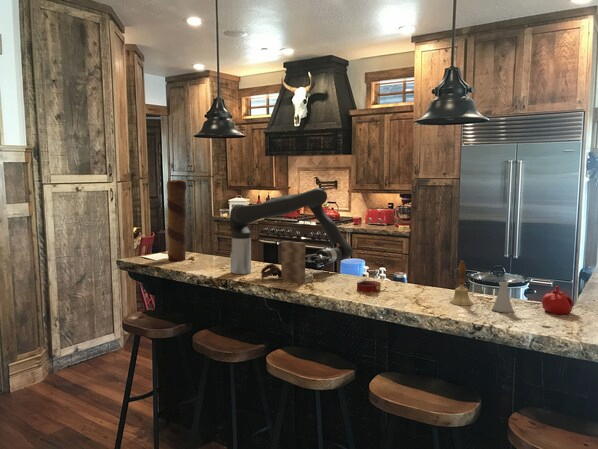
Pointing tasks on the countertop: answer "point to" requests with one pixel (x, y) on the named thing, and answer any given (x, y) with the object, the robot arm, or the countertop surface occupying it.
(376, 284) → the canned food
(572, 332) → the countertop surface
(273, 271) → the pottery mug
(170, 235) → the wafer roll
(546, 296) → the pomegranate
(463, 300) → the hand bell
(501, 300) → the flask
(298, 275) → the brown upright block
